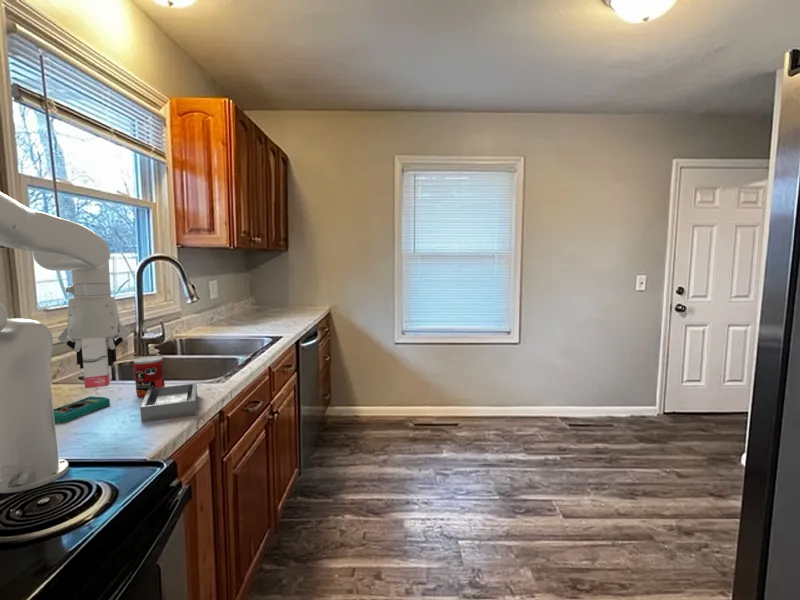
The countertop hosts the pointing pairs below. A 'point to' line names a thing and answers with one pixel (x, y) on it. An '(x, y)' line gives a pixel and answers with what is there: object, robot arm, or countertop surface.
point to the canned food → (148, 374)
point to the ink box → (95, 362)
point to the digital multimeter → (79, 408)
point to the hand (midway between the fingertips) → (97, 365)
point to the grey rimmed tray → (169, 402)
